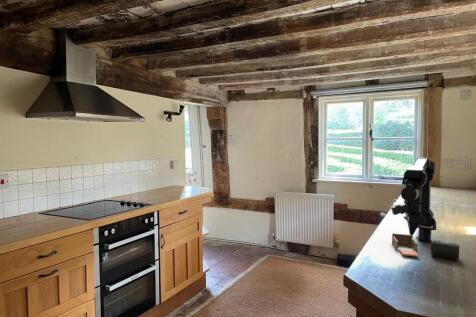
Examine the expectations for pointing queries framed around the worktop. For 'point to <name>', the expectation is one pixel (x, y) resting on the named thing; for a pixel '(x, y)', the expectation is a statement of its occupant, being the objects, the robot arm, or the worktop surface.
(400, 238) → the brown wooden open frame
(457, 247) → the end cap
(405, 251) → the salmon pink flat panel
